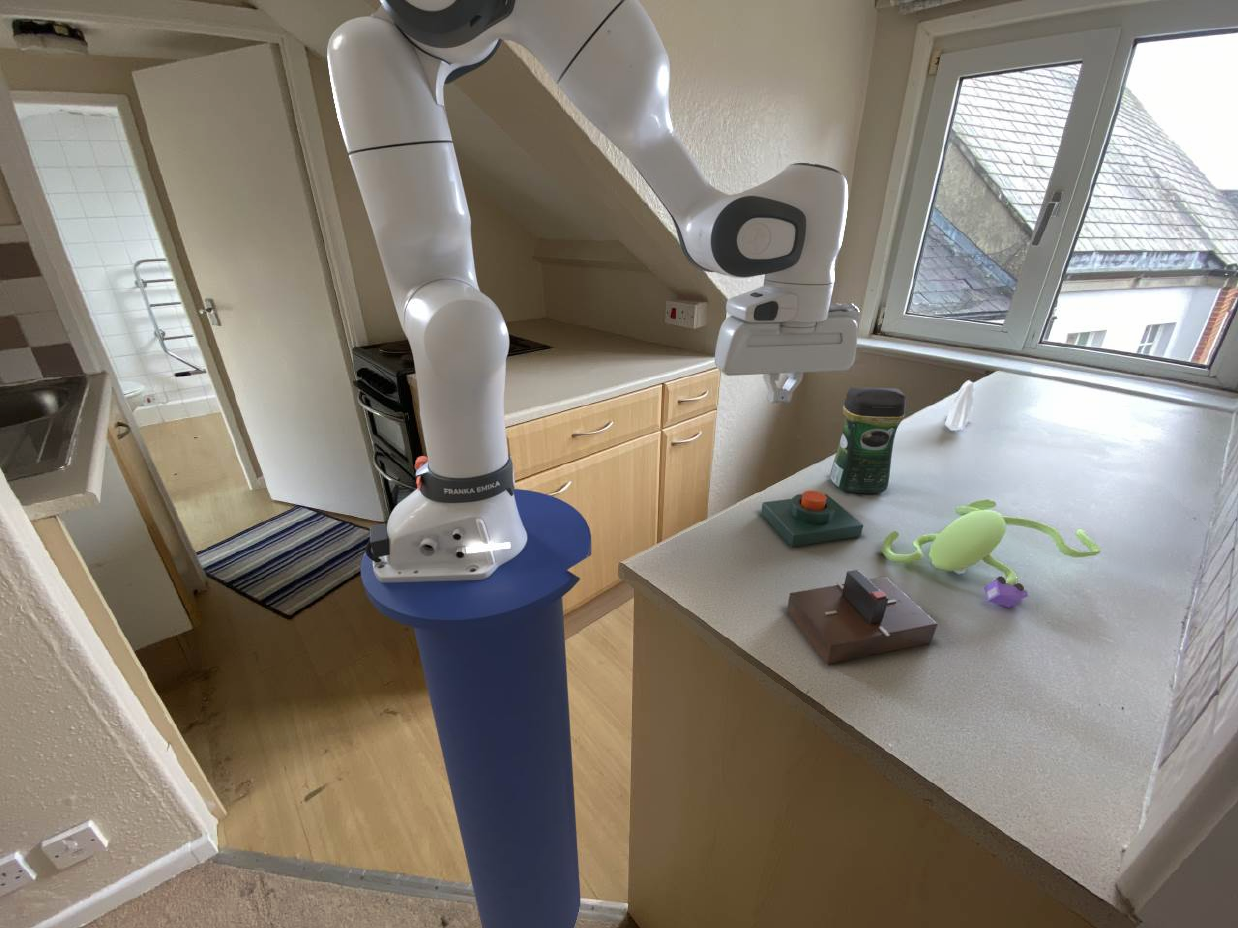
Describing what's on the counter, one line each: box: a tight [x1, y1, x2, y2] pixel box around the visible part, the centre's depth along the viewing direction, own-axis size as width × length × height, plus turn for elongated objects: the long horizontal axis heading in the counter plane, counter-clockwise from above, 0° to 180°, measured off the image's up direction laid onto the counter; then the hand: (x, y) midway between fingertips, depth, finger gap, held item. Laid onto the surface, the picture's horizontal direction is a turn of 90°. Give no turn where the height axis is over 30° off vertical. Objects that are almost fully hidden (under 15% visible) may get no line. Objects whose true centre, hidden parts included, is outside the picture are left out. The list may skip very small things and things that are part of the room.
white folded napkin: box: [944, 379, 976, 432], centre depth 121 cm, size 12×4×11 cm, turn 144°
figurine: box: [881, 499, 1102, 608], centre depth 76 cm, size 18×27×6 cm
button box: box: [760, 493, 864, 548], centre depth 85 cm, size 12×10×4 cm
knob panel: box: [786, 576, 938, 665], centre depth 65 cm, size 14×10×3 cm
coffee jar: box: [829, 387, 907, 494], centre depth 94 cm, size 10×8×19 cm
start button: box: [801, 490, 826, 511], centre depth 84 cm, size 4×4×2 cm
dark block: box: [842, 569, 888, 624], centre depth 63 cm, size 6×2×4 cm, turn 14°
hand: (778, 401), depth 77 cm, fingers closed
